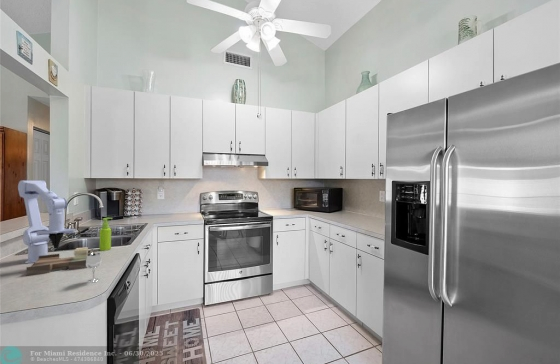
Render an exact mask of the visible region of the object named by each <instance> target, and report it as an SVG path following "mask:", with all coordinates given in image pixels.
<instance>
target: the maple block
mask: <svg viewBox="0 0 560 364" xmlns="http://www.w3.org/2000/svg"><path fill="white" fill-rule="evenodd" d="M88 251H89V247H87V246H85V247H77V248H75V249H74V255H73V257H74V260H81V259H86V258H87V255H88Z"/></svg>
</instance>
